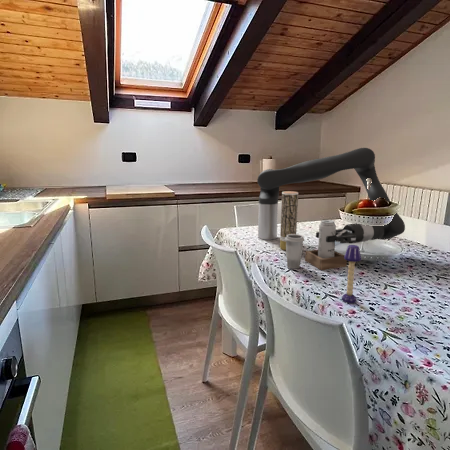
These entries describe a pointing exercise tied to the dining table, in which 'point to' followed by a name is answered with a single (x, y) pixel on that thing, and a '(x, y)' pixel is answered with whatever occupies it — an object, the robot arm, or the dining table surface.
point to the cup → (294, 250)
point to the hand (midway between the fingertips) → (321, 237)
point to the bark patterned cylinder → (288, 216)
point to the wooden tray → (325, 260)
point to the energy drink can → (325, 247)
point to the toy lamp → (351, 271)
